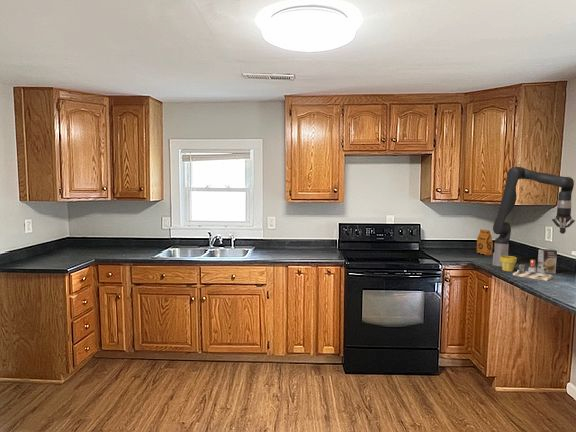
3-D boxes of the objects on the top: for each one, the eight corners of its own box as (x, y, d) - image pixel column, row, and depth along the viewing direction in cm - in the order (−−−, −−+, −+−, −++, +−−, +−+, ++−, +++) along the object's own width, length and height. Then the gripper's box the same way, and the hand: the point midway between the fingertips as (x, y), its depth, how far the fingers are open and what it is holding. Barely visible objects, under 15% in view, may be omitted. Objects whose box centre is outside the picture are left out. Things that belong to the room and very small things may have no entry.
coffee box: (543, 273, 268) (544, 250, 267) (536, 271, 275) (538, 249, 274) (556, 273, 269) (557, 250, 267) (549, 271, 275) (550, 249, 274)
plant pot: (516, 272, 270) (517, 258, 270) (499, 271, 275) (500, 257, 275) (515, 270, 279) (516, 256, 279) (499, 268, 284) (500, 255, 284)
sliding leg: (526, 273, 258) (526, 260, 258) (530, 272, 264) (530, 259, 263) (531, 274, 256) (532, 261, 255) (535, 273, 261) (536, 259, 260)
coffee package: (484, 255, 337) (485, 230, 336) (474, 253, 349) (475, 229, 348) (494, 255, 339) (495, 230, 337) (484, 253, 351) (485, 228, 350)
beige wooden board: (512, 275, 262) (513, 265, 262) (519, 272, 270) (519, 263, 270) (547, 280, 247) (547, 270, 247) (552, 278, 255) (553, 268, 255)
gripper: (550, 207, 258) (549, 233, 259) (574, 208, 248) (573, 235, 249) (554, 206, 263) (552, 232, 264) (577, 207, 253) (576, 234, 254)
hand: (562, 233), depth 257 cm, fingers closed
